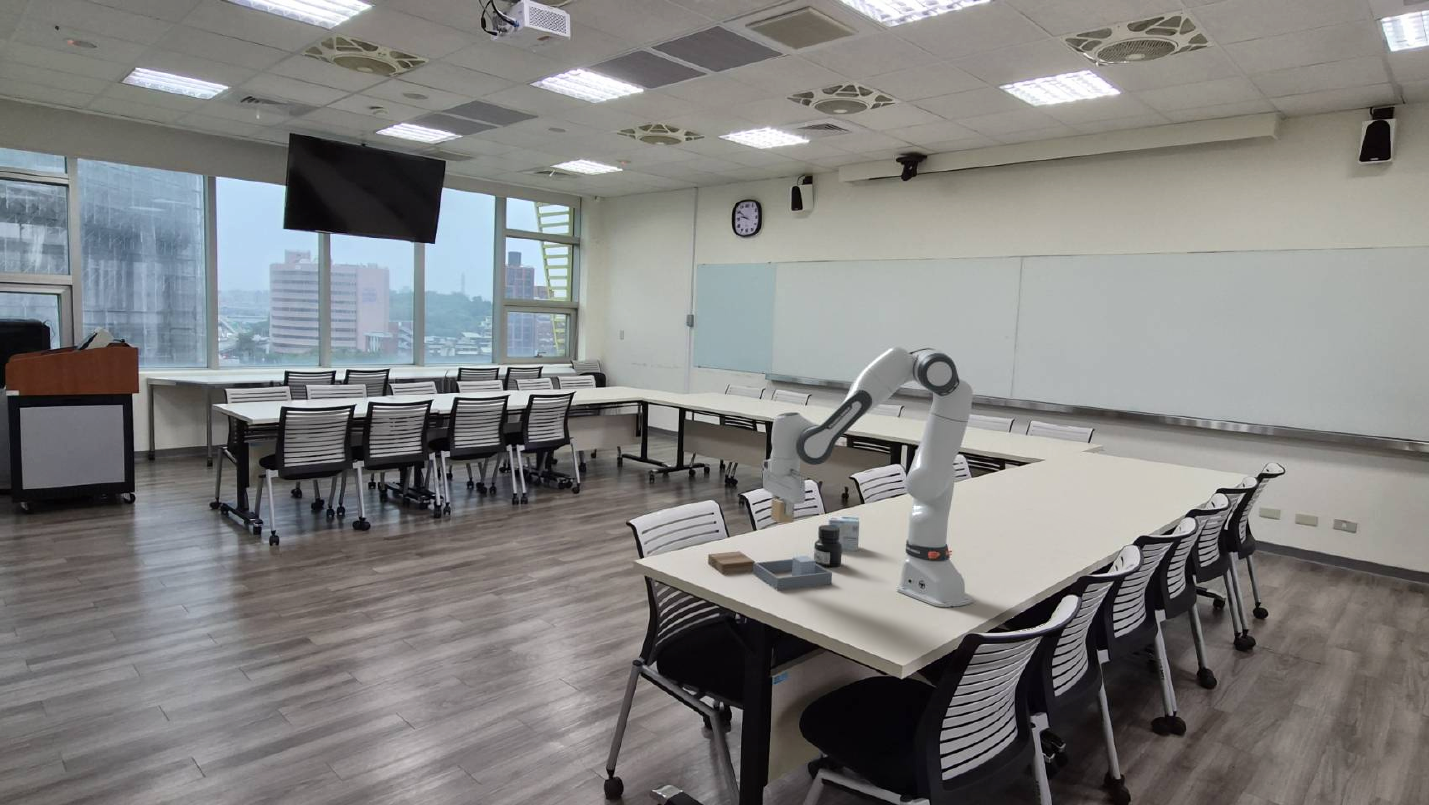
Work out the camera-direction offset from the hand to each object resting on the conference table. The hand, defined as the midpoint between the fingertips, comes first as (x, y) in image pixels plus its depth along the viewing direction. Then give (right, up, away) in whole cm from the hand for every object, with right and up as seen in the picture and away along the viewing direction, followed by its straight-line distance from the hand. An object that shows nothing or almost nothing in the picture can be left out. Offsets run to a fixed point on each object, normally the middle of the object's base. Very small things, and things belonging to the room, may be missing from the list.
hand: (782, 511), depth 235 cm
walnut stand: (-15, -19, +13) cm, 28 cm away
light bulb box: (+24, -18, +39) cm, 50 cm away
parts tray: (+3, -21, +4) cm, 22 cm away
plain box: (+7, -21, +5) cm, 23 cm away
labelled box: (0, -3, 0) cm, 3 cm away
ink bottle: (+16, -20, +21) cm, 33 cm away
